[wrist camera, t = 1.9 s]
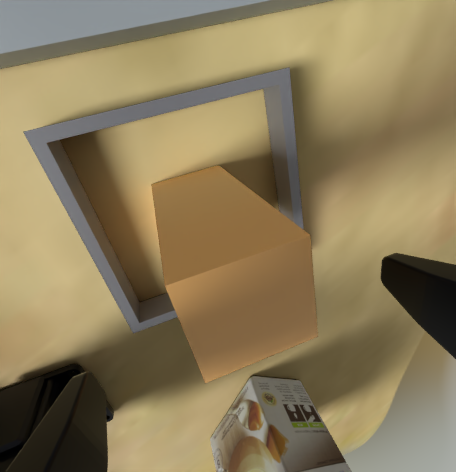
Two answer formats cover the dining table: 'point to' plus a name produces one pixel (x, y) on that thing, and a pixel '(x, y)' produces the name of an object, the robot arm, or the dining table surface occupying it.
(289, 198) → the purplish gray square frame
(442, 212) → the dining table surface
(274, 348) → the tan wooden block
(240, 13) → the gray rectangular frame
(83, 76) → the dining table surface
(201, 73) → the dining table surface
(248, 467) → the coffee box
